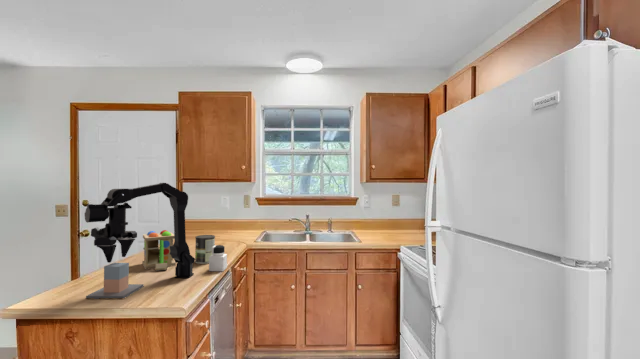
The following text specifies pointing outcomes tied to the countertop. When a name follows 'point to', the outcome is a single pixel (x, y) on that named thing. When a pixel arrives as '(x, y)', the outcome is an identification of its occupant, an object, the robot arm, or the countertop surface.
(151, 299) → the countertop surface
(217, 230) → the countertop surface
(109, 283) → the terracotta brick
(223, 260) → the medicine bottle
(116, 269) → the slate-grey brick
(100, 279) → the countertop surface
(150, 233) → the pounding bench toy
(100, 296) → the base plate
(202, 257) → the coffee can
